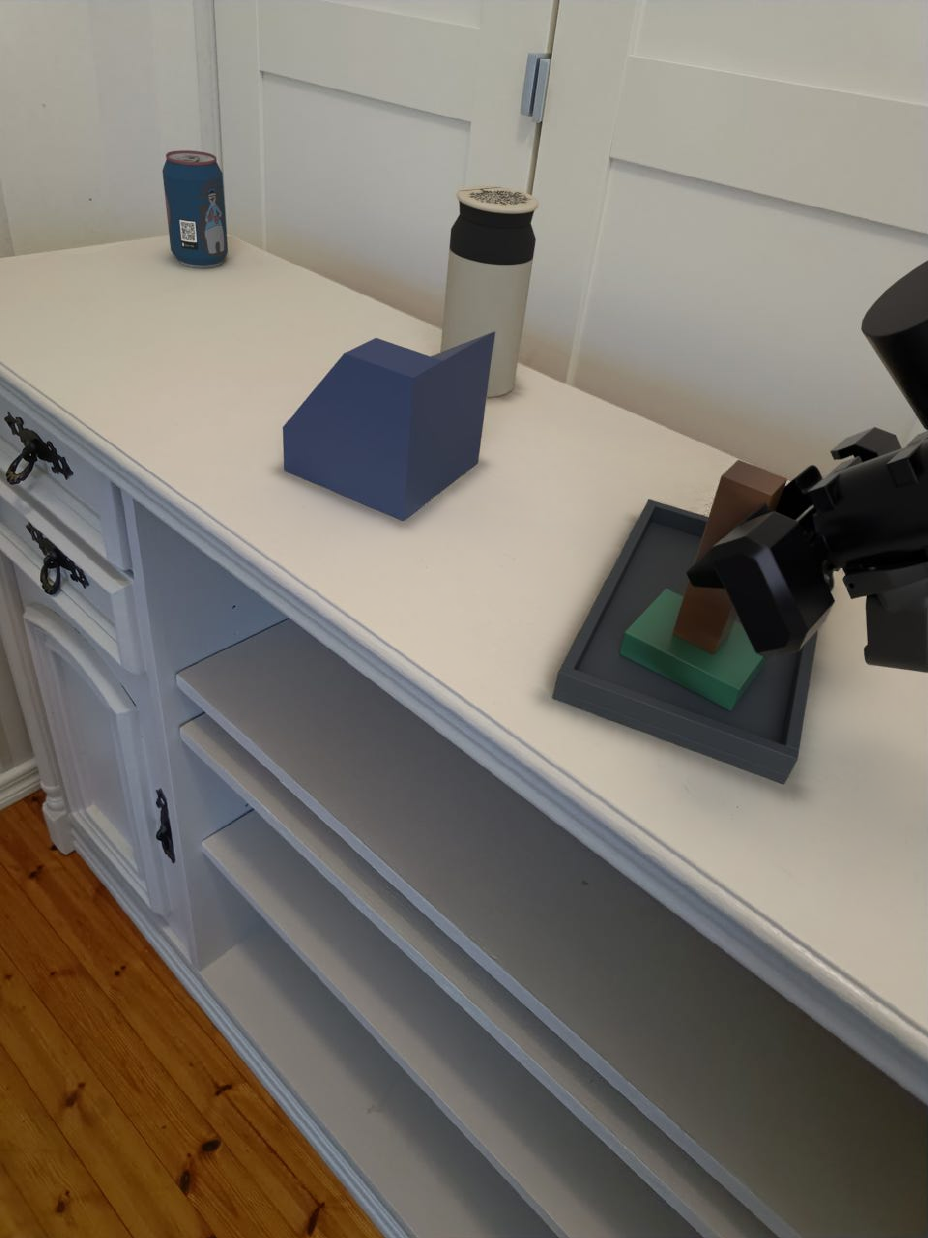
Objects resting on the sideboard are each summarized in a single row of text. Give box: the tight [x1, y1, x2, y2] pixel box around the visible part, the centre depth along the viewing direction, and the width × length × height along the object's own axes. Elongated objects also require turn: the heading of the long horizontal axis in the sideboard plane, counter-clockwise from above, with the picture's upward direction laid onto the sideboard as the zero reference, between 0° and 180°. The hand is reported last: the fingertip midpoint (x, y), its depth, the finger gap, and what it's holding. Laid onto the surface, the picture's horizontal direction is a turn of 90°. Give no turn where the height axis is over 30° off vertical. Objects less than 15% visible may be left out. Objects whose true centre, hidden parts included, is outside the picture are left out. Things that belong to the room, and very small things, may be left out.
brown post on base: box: [619, 459, 788, 711], centre depth 52 cm, size 8×6×14 cm
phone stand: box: [282, 331, 495, 522], centre depth 70 cm, size 12×12×12 cm
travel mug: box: [439, 185, 539, 398], centre depth 83 cm, size 8×8×18 cm
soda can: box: [162, 149, 229, 269], centre depth 104 cm, size 7×7×12 cm
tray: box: [551, 498, 819, 785], centre depth 60 cm, size 24×15×2 cm, turn 157°
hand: (701, 569), depth 53 cm, fingers closed on brown post on base, 2 cm apart
